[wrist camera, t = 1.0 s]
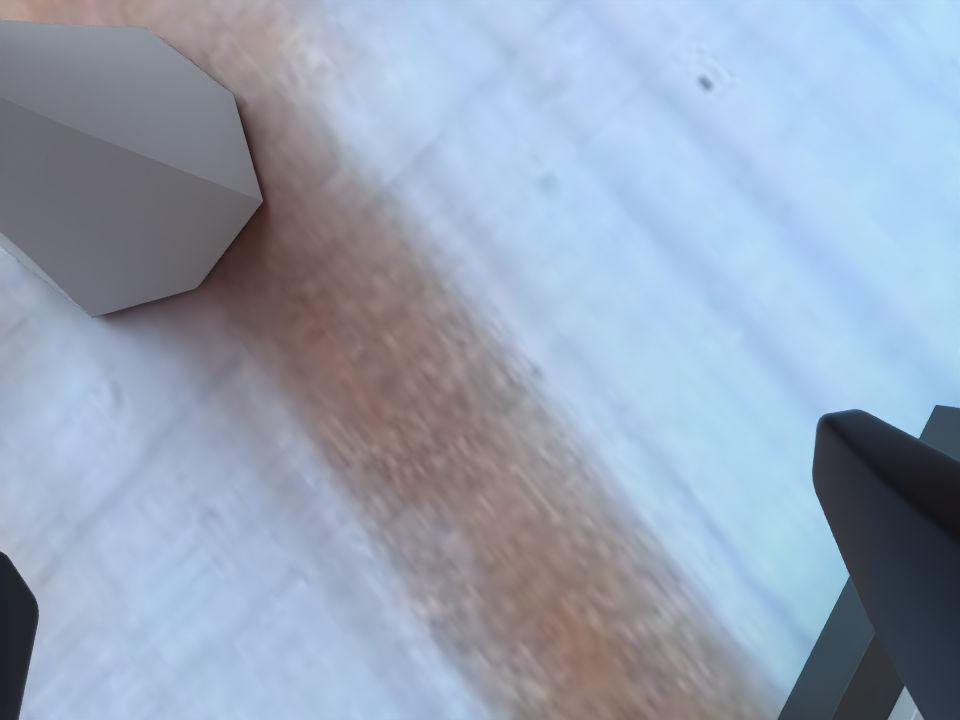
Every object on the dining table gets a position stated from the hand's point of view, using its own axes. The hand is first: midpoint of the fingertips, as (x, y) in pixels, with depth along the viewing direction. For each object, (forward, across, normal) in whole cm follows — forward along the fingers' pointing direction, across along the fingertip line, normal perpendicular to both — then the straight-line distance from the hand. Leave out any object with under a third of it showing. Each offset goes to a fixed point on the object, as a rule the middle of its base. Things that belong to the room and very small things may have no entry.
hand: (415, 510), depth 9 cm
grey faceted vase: (+15, +8, 0) cm, 17 cm away
